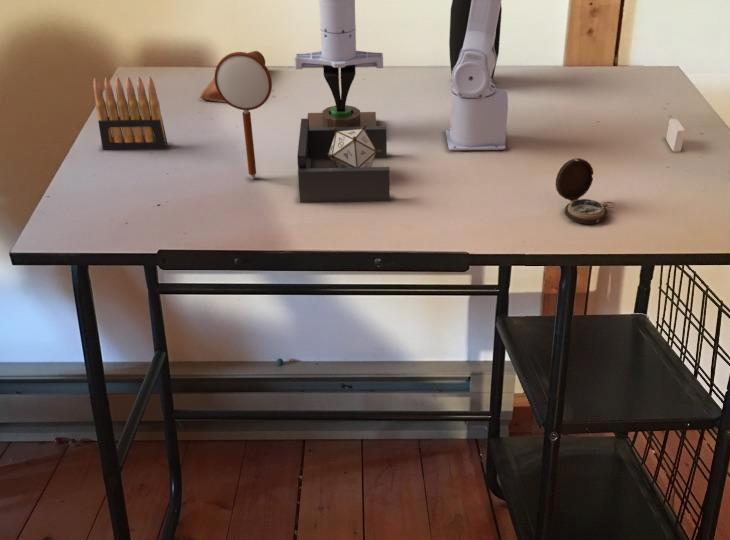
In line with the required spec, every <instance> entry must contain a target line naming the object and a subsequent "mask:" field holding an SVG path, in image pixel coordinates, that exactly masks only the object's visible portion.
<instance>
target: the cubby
mask: <svg viewBox="0 0 730 540" xmlns="http://www.w3.org/2000/svg"><path fill="white" fill-rule="evenodd" d="M335 128H336V129H337V131H342V130H352V129H362V128H363V127H335ZM365 131H366V133H367V135H368V137H369V138H370V140H371V142H372V144H373V145H374V147H375V149H376V150H381V152H380V153H376V155H375V158H374V159H386V158H387V155H388V152H387V151H388V147H387V144H388V143H387V142H388V141H387V140H388V139H387V138H388V137H387V136H388V135H387V133H388V132H387V126H386V125H383V126H380V125H379V126H376V127H366V128H365ZM334 135H335V131H334V130H333V127H319V128H309V119H307V118H301V119H300V127H299V137H298V145H297V146H298V147H297V179H298V193H299V203H329V202H330V203H332V202H383V201H384V202H385V201H391V199H390V197H391V194H390V193H391V192H390V191H391V190H390V188H391V187H390V185H391V184H390V183H391V181H390V179H391V178H390V175H391V172H390V171H391V170H390V166H371V167H355V168H335V167H311V165H312V160H322V159H323V160H330V158H329V157H328V156H326V157H325V156H324V154H325V153H328V152H329V149H330V147H331V144H332V141H333V138H334Z"/></svg>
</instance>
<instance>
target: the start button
mask: <svg viewBox="0 0 730 540" xmlns="http://www.w3.org/2000/svg"><path fill="white" fill-rule="evenodd" d="M333 106H334V107H332V108H331V115H332V116H334V117H347V116H350V115H352V109H351V107H349V106H350V105H348V106H345V111H337V108H336V105H333Z"/></svg>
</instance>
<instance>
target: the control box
mask: <svg viewBox="0 0 730 540" xmlns="http://www.w3.org/2000/svg"><path fill="white" fill-rule="evenodd" d="M334 106H335V105H332V106H328V107H326V108H324V109H323V110H322V111H321V112H308V113H307V118H306V119H309V128H319V127H363V125H364V124H366V126H367V127H377V114H376V113H377V111H361V110H360V109H359V108H357V107H356V106H352V105H347V104H345V106H349V107H351V109H352V115H350V116H347V117H334V116H332V115H331V108H332V107H334Z"/></svg>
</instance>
